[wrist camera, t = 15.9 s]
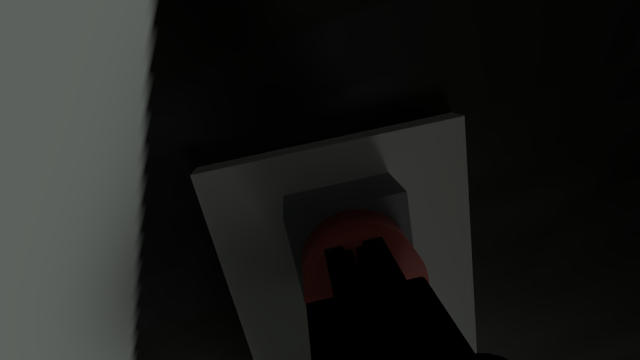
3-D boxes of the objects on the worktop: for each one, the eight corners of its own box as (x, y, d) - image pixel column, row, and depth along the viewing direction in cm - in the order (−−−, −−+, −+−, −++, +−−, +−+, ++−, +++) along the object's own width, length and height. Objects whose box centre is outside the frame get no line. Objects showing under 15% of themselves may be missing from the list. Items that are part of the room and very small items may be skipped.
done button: (412, 290, 12) (433, 327, 10) (313, 313, 12) (318, 354, 10) (401, 198, 11) (422, 223, 9) (290, 223, 11) (291, 252, 9)
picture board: (472, 440, 19) (504, 504, 17) (302, 482, 19) (305, 554, 16) (451, 112, 13) (497, 125, 10) (196, 167, 13) (172, 195, 10)
